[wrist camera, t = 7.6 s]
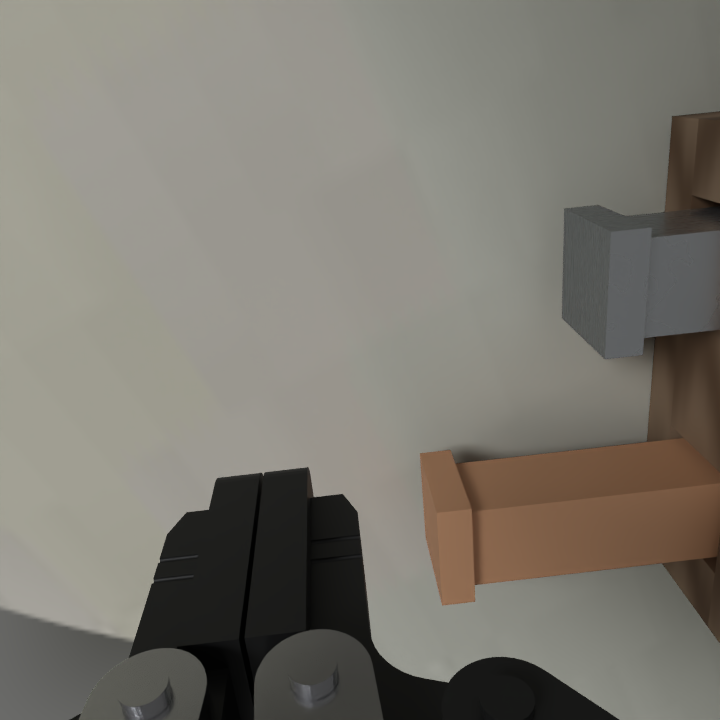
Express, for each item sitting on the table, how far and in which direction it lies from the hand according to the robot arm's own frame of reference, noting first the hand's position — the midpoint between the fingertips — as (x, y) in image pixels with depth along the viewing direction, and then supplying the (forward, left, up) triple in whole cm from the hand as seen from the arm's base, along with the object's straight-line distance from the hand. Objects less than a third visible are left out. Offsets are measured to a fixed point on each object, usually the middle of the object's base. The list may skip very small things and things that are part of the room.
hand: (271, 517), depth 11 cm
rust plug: (+9, +11, -14) cm, 19 cm away
